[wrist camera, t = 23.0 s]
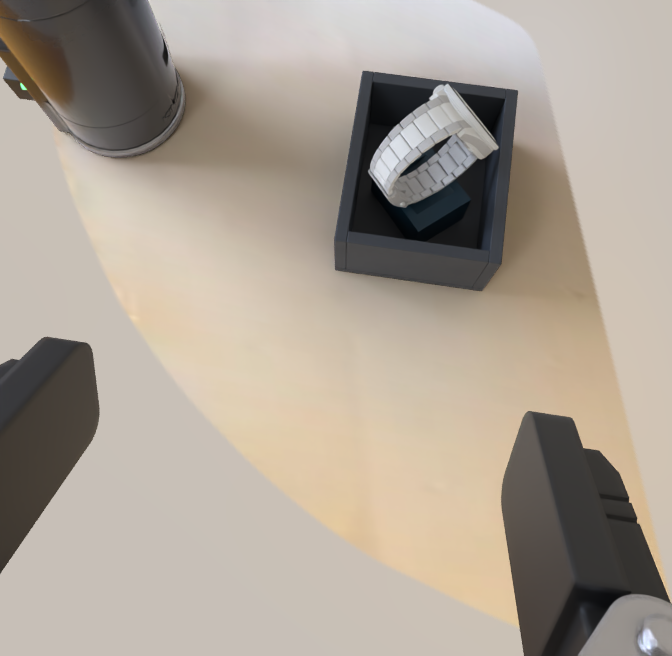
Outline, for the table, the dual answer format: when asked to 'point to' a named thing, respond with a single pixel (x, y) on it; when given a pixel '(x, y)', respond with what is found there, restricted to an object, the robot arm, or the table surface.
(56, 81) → the robot arm
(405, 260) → the box
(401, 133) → the watch
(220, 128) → the table surface
